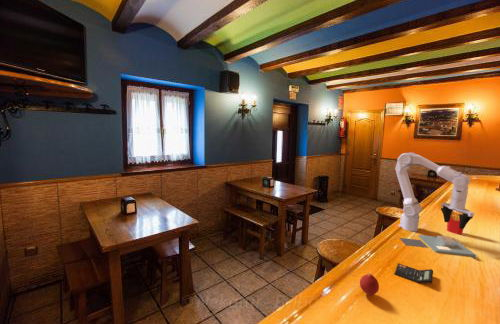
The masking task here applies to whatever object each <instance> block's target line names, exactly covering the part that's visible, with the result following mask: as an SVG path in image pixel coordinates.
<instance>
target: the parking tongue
mask: <svg viewBox="0 0 500 324" xmlns="http://www.w3.org/2000/svg"><path fill="white" fill-rule="evenodd" d="M398 239H399V240H400V241H401V242H402V243H403V244H404V245H405V246H409V247H419V248H424V249H426V248H427V249H429V246H428V245H427V244H426V243H425V242H424V241H423V240H421V239H415V238H404V237H398Z"/></svg>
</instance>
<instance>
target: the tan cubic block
mask: <svg viewBox="0 0 500 324" xmlns="http://www.w3.org/2000/svg"><path fill="white" fill-rule="evenodd" d="M436 237H437V242H438V243H440V244H441V245H442V246H447V247H454V246H455V241H454V240H453V239H454V238H453V239H451V238H452V237H450V236H448V235H447V236H446V235H437V236H436Z"/></svg>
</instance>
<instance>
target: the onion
mask: <svg viewBox="0 0 500 324" xmlns="http://www.w3.org/2000/svg"><path fill="white" fill-rule="evenodd" d="M359 287H360V289H361V290H362V291H363V292H364V293H365V295H366V296H374V295H376V294H377V293H378V292H379V289H380V284H379V281H378V279H377V278H376V277H375V276H374V275H373V274H372V273H371V272H368V273H367V274H364V275H363V276H361V278H360V280H359Z"/></svg>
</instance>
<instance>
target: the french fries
mask: <svg viewBox="0 0 500 324" xmlns="http://www.w3.org/2000/svg"><path fill="white" fill-rule="evenodd" d="M459 214H462V213H460V212H457V211H454V210H453V211H452V214H451V216H450V221H449V222H446V231H448V232H449V233H453V234H455V235H460V236H462V234H463V232H464V229H460V228H459V223H460V218H459Z"/></svg>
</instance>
